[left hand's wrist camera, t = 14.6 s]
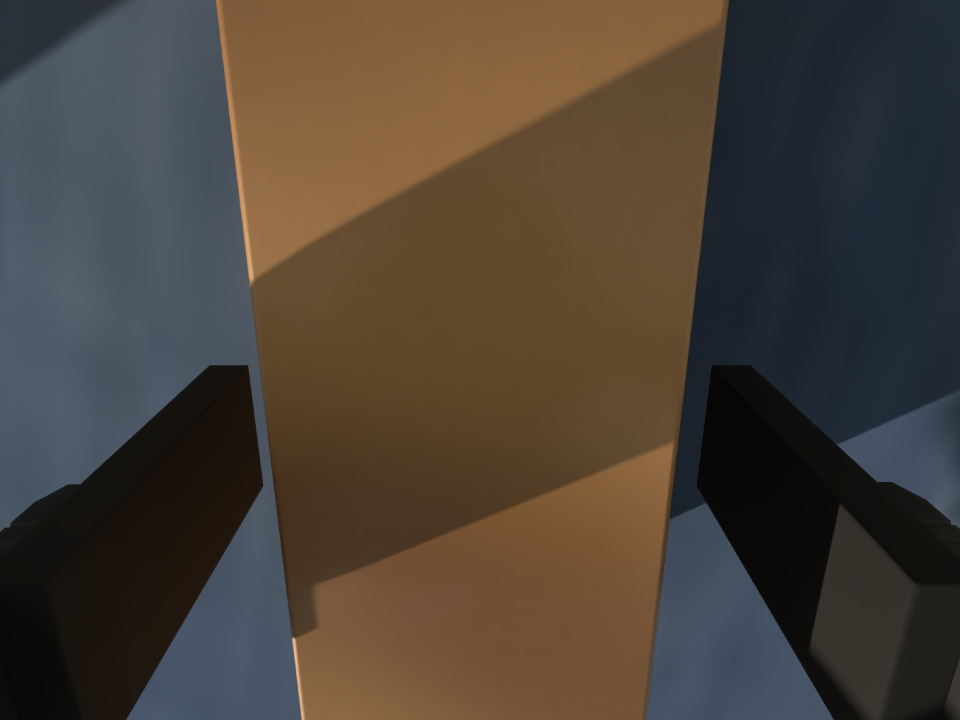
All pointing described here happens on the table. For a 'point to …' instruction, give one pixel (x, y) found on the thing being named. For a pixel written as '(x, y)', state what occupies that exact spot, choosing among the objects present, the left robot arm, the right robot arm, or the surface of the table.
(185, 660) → the table surface
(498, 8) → the plank
